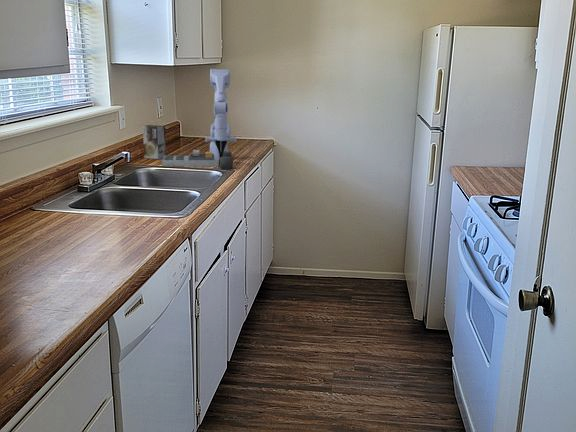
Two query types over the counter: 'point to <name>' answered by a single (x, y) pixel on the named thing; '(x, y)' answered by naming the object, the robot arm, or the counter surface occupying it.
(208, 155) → the toggle
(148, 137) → the coffee box
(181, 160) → the power strip
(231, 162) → the pair of grey cylinders
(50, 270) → the counter surface
